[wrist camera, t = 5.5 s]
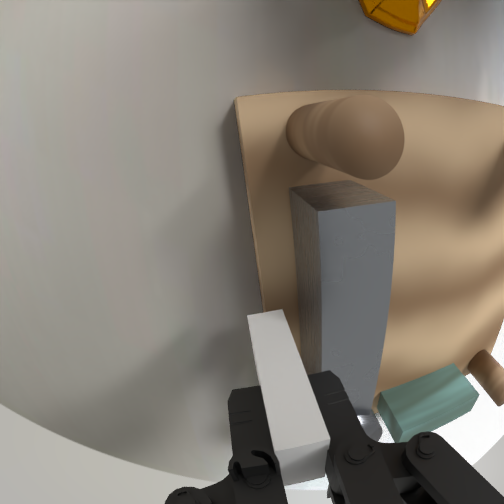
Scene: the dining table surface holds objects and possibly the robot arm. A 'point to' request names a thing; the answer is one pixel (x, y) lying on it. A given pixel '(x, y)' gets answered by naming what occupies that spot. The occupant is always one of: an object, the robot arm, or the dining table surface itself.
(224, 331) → the dining table surface
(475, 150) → the board
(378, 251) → the leg
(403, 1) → the figurine
